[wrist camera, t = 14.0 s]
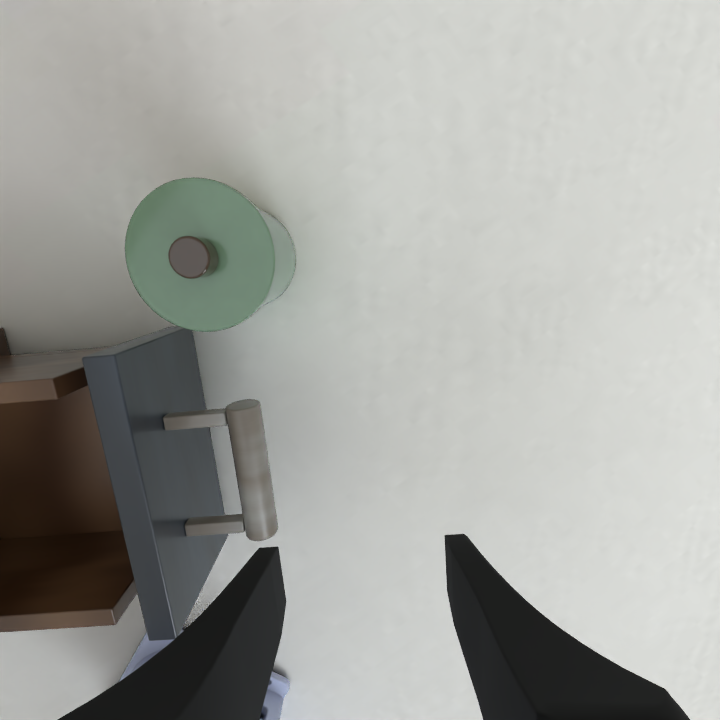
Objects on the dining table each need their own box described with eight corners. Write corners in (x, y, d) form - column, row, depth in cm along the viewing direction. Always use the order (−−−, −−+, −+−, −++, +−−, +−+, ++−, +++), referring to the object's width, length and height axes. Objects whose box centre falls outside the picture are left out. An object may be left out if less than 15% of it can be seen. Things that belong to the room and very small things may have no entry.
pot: (320, 238, 21) (297, 227, 14) (270, 329, 22) (225, 364, 15) (223, 180, 21) (146, 137, 13) (177, 277, 22) (83, 286, 14)
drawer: (271, 318, 21) (229, 344, 15) (299, 530, 24) (275, 633, 17) (-52, 345, 22) (-236, 383, 15) (11, 550, 24) (-121, 658, 18)
